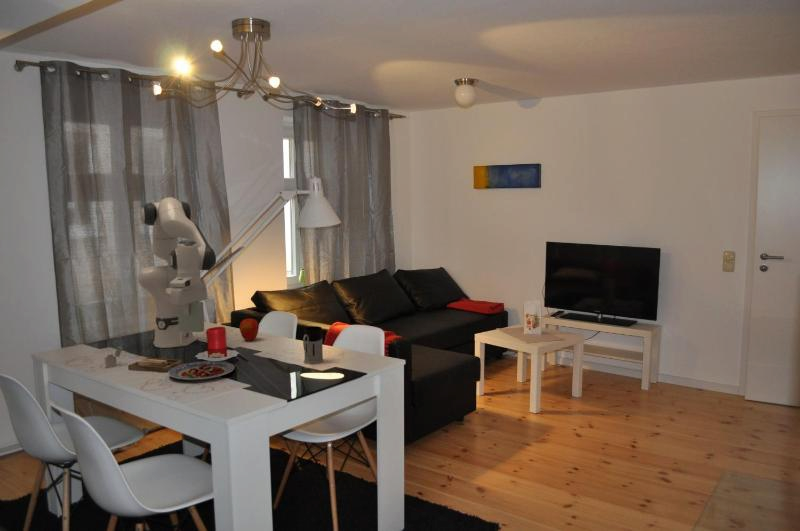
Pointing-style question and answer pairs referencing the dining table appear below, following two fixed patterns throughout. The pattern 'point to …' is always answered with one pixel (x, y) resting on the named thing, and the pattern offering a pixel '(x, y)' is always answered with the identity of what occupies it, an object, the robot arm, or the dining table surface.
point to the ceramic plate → (201, 370)
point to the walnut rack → (171, 364)
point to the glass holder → (313, 345)
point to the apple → (249, 329)
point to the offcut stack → (153, 362)
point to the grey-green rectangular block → (191, 318)
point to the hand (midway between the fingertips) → (190, 313)
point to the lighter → (112, 358)
